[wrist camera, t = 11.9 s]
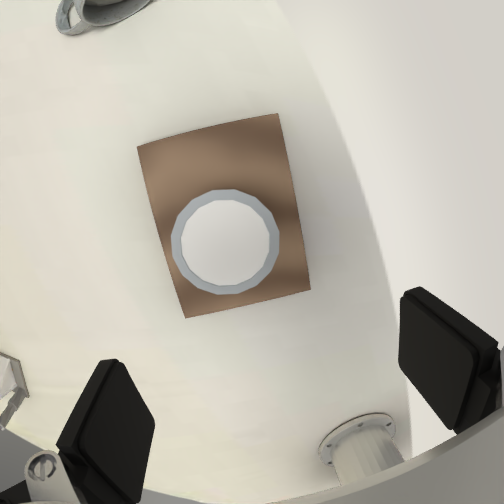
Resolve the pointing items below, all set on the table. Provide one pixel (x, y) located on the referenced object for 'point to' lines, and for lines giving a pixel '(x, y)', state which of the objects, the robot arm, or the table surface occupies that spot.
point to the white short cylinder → (225, 241)
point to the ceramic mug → (95, 13)
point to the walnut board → (227, 178)
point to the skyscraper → (11, 386)
